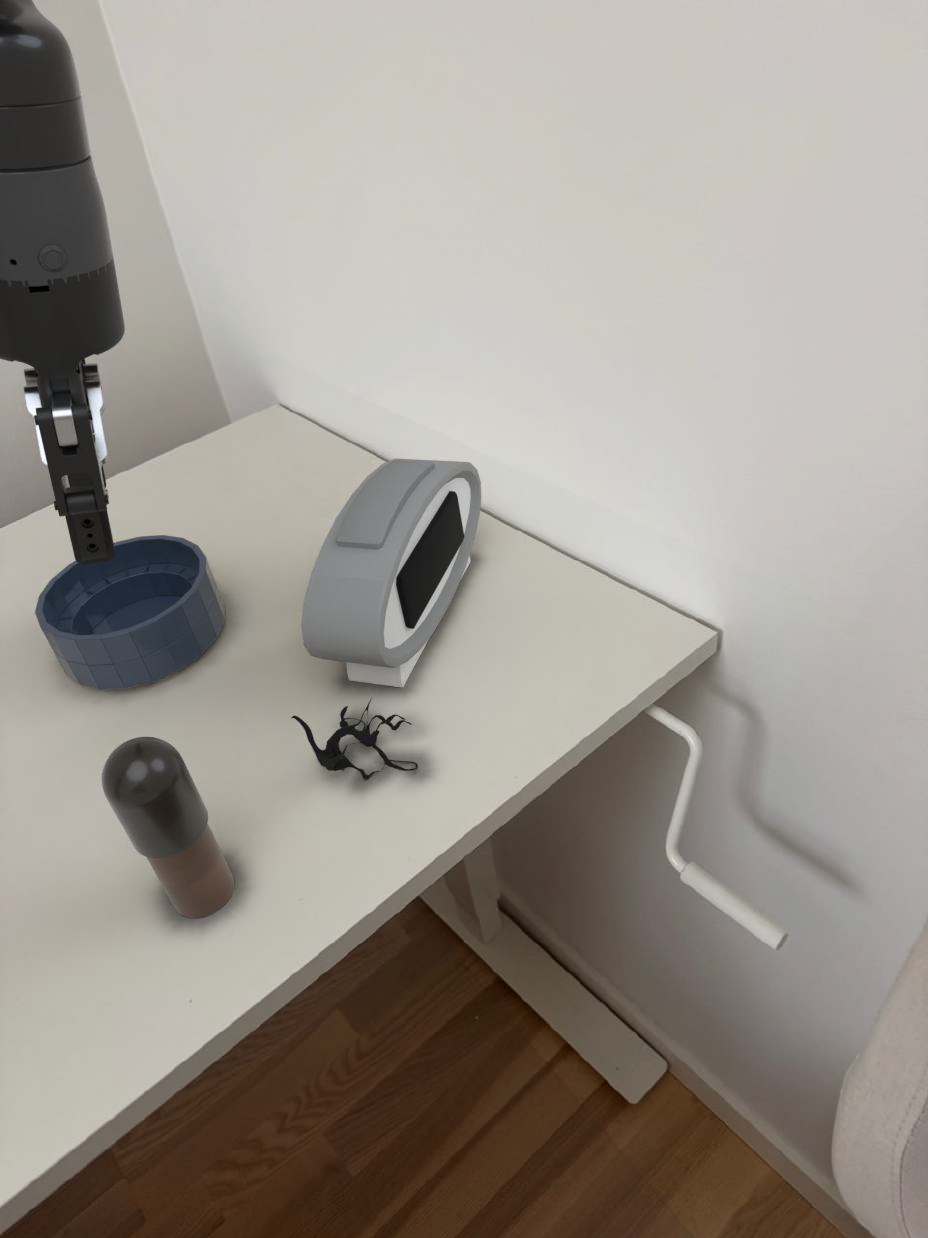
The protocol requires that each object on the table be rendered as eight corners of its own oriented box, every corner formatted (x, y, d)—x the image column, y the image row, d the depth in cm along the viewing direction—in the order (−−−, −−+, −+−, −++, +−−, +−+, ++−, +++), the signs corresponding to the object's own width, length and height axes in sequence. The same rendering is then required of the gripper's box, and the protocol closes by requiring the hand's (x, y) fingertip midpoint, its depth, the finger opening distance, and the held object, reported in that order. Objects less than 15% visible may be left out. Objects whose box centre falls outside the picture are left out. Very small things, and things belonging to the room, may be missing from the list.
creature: (376, 715, 73) (287, 757, 69) (375, 657, 71) (282, 696, 66) (442, 766, 68) (351, 815, 64) (443, 705, 66) (348, 751, 61)
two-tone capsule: (180, 935, 59) (99, 794, 51) (160, 884, 62) (80, 744, 54) (249, 898, 60) (181, 755, 52) (226, 850, 64) (158, 708, 56)
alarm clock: (397, 719, 71) (362, 582, 63) (324, 708, 73) (280, 575, 65) (491, 540, 88) (472, 415, 80) (428, 536, 90) (404, 413, 82)
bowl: (84, 720, 76) (53, 664, 72) (50, 631, 86) (22, 578, 83) (249, 645, 81) (228, 589, 77) (199, 569, 91) (178, 516, 87)
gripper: (-38, 219, 53) (27, 478, 63) (-54, 301, 43) (26, 597, 52) (104, 214, 56) (145, 464, 65) (121, 290, 45) (168, 576, 55)
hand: (92, 523), depth 59 cm, fingers open, 8 cm apart
